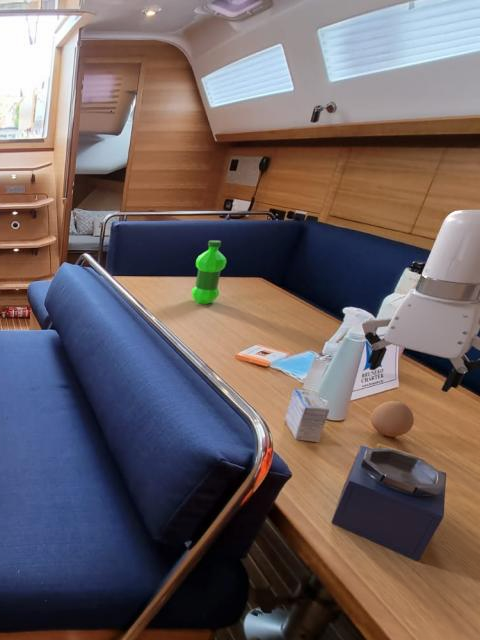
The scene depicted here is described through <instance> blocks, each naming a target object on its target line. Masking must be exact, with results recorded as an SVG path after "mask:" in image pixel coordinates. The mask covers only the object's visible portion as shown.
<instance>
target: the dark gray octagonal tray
mask: <svg viewBox="0 0 480 640" xmlns="http://www.w3.org/2000/svg"><path fill="white" fill-rule="evenodd" d="M394 449H395V448H394ZM394 449H389V448H376V447H375V448H374V447H371V449H366V452H365V454H364V456H363V460H362V462H361V468H362V470H363V471H364V473H365V474H366V475H367V476H368V477H369V478H371V479H372V480H373V481H375V482H377V483H378V484H380V485H382V486H384V487H386V488H388V489H390V490H392V491H395V492H398V493H401V494H404V495H408V496H413V497H420V498H429V497H433V496H436V495H439V494H440V493H441V491H442V489H443V488H444V477H445V475H443V473H442V472H443V471H442V472H440V471H441V470H439V469H437V468H436V467H434V466H433V465H431V464H430V463H429V462H428V461H426V460H424V458H423V459H420V458H419V457H420V456H419V457H416V456H417V455H416V456H413V455H414V454H413V455H410V454H411V453H410V454H407V453H408V452H407V453H403V452H400V451H401V450H400V451H397V450H398V449H397V450H394Z"/></svg>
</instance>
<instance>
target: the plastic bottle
mask: <svg viewBox="0 0 480 640" xmlns="http://www.w3.org/2000/svg"><path fill="white" fill-rule="evenodd" d="M221 245H222V241H221V240H218V239H217V240H216V239H215V240H213V239H211V240H208V242H207V247H208V249H207V250H206V251H204V252H202V253H201V254H200V255H198V256H197V258H196V259H195V267H196V268H197V273H196V275H197V276H196V279H195V280H196V281H195V285H194V287H193V288H192V289H191V296H192V298H193V299H194V300H195V301H196V303H198V304H201V305H209V304H211V303H213V302H214V301H215V300H217V299H218V297H219V295H220V292H219V291H220V290H219V288H218V286H219V281H220V277H221V271H222V270H224V269H225V268H226V265H227V263H228V262H227V258H226V257H225V256H224V254H222V253H221V251H220V250H219V248H220V247H221Z"/></svg>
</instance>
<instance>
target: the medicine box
mask: <svg viewBox="0 0 480 640" xmlns="http://www.w3.org/2000/svg"><path fill="white" fill-rule="evenodd" d="M329 412H330V409H329V407H328V406H327V405H326V403H325V402H324V400H323V399H322V398H321V397H320V395H319V394H318V392H317V391H314V390H306V389H293V391H292V393H291V396H290V401H289V404H288V405H287V410H286V413H285V417H284V421H285V423H286V424H287V426H288V428H289V430H290V432H291V434H292V435H293V437H294V439H295V440H297V441H298V440H299V441H303V442H310V443H311V442H312V443H319V442H320V439H321V436H322V434H323V432H324V431H323V430H324V427H325V425H326V422H327V419H328V416H329Z"/></svg>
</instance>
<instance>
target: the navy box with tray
mask: <svg viewBox="0 0 480 640" xmlns="http://www.w3.org/2000/svg"><path fill="white" fill-rule="evenodd" d="M371 448H372V447H371ZM371 448H370V446H368V447H367V445H364V444H361V445H360V447H359V449H358V451H357V453H356V456H355V457H354V461H353V463H352V465H351V467H350V470H349V473H348V475H347V477H346V479H345V482H344V485H343V487H342V491H341V493H340V496H339V499H338V501H337V504H336V508H335V510H334V513H333V516H332V518H331V521H330V522H331V524H332V525H335V526H337V527H339V528H341V529H344V530H346V531H348V532H351V533H353V534H355V535H357V536H360V537H362V538H363V539H366V540H368V541H371V542H373V543H376V544H377V545H379V546H382V547H384V548H387V549H389V550H391V551H393V552H395V553H397V554H400V555H402V556H404V557H407V558H408V559H411V560H413V561H415V562H419V560H420V559H421V557H422V555H423V554H424V552H425V550H426V548H427V547H428V545H429V543H430V542H431V540H432V537H433V536H434V535H435V533H436V531H437V530H438V527H439V526H440V524H441V523H442V520H443V519H444V517H445V501H446V486H447V472H445V471H443V470H439V471H440V472H442V473H443V475H445V477H444V488H443V489H442V491H441V493H440V494H439V495H436V496H433V497H429V498H420V497H413V496H408V495H404V494H401V493H398V492H395V491H392V490H390V489H388V488H386V487H384V486H382V485H380V484H378V483H377V482H375V481H373V480H372V479H371V478H369V477H368V476H367V475H366V474H365V473H364V471H363V470H362V468H361V462H362V460H363V456H364V454H365V452H366V449H371Z"/></svg>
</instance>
